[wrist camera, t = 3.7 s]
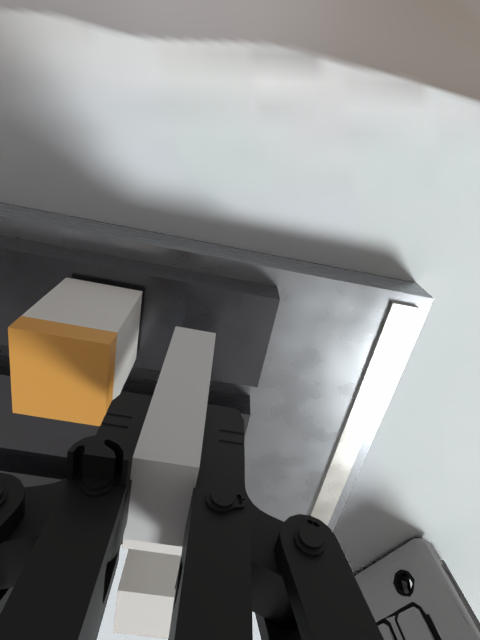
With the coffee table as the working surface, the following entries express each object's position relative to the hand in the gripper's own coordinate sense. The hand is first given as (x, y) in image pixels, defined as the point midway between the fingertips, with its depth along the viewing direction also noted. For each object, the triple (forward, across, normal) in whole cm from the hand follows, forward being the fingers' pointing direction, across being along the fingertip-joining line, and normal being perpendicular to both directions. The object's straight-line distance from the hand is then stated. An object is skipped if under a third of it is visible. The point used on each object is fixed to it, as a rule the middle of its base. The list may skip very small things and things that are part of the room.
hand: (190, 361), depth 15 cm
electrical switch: (+6, +17, -19) cm, 26 cm away
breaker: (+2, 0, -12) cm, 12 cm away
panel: (+6, -4, -6) cm, 9 cm away
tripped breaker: (+2, -4, 0) cm, 4 cm away
